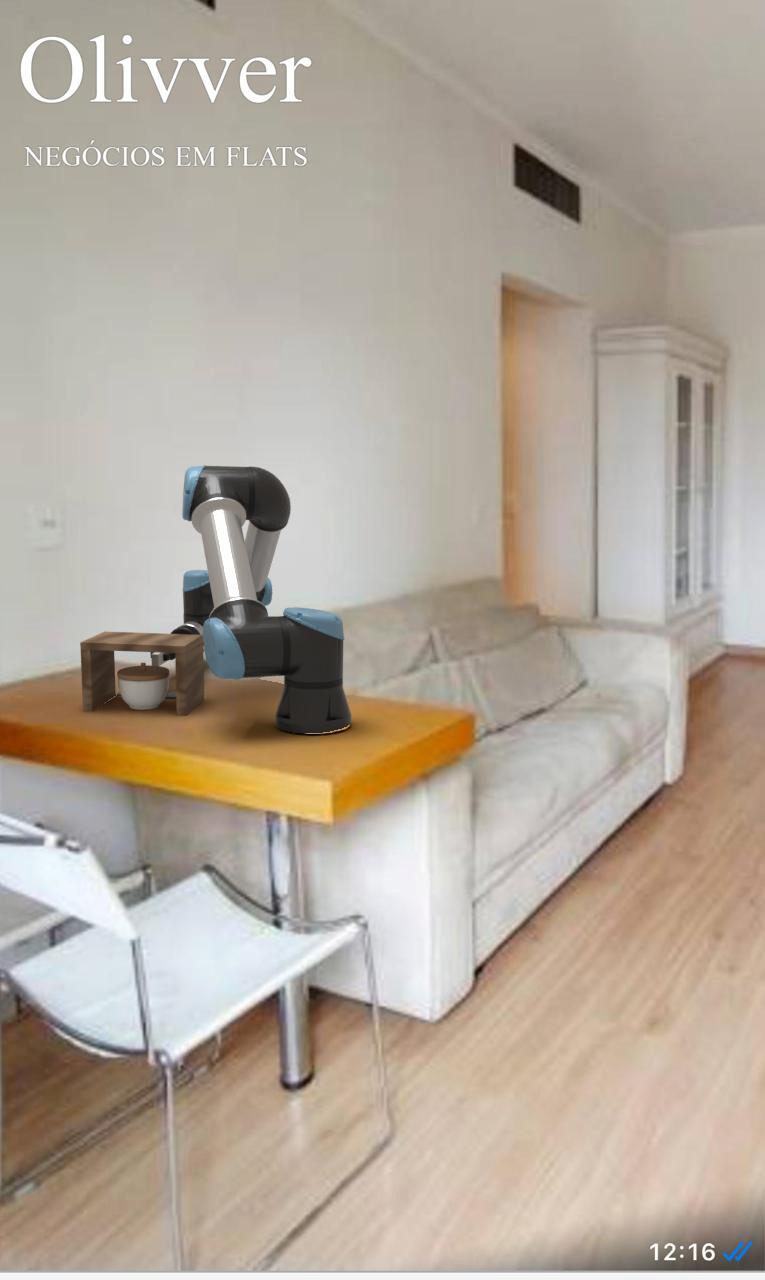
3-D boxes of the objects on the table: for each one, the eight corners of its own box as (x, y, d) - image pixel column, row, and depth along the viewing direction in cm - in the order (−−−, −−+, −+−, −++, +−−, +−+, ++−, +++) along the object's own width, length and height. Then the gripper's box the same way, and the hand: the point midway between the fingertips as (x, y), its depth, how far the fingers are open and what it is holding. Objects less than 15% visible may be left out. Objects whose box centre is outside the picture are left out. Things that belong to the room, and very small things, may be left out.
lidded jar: (157, 714, 198) (156, 669, 197) (109, 710, 200) (107, 666, 199) (178, 701, 209) (177, 659, 207) (132, 698, 211) (131, 656, 209)
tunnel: (204, 700, 210) (203, 635, 208) (186, 715, 198) (184, 646, 195) (107, 696, 212) (104, 631, 210) (83, 710, 200) (80, 642, 197)
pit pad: (200, 695, 214) (200, 693, 214) (195, 699, 211) (195, 698, 210) (122, 692, 216) (122, 690, 216) (115, 696, 212) (115, 694, 212)
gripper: (213, 656, 234) (184, 678, 211) (161, 654, 235) (126, 675, 212) (213, 625, 232) (183, 644, 209) (160, 623, 233) (125, 642, 210)
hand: (154, 660), depth 211 cm, fingers closed
